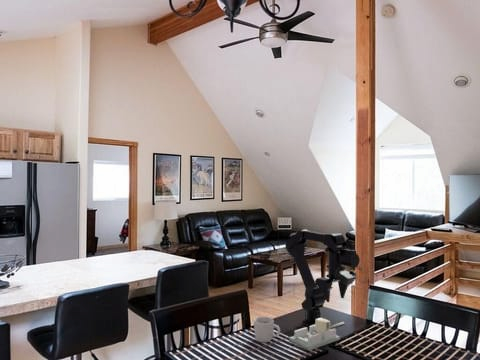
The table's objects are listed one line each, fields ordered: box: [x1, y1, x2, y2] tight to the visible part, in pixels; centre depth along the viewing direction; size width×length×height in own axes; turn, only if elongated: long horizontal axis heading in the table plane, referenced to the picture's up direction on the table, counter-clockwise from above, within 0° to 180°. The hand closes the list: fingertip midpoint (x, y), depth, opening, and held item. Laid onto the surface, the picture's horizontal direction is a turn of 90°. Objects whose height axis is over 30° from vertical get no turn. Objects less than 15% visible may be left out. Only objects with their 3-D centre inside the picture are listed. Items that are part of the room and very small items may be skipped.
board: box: [289, 324, 341, 351], centre depth 153 cm, size 11×17×4 cm, turn 126°
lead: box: [330, 321, 345, 329], centre depth 168 cm, size 8×1×1 cm, turn 126°
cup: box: [253, 316, 281, 343], centre depth 152 cm, size 11×8×8 cm
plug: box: [314, 317, 331, 335], centre depth 154 cm, size 6×3×6 cm, turn 36°
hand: (335, 300), depth 162 cm, fingers open, 9 cm apart
